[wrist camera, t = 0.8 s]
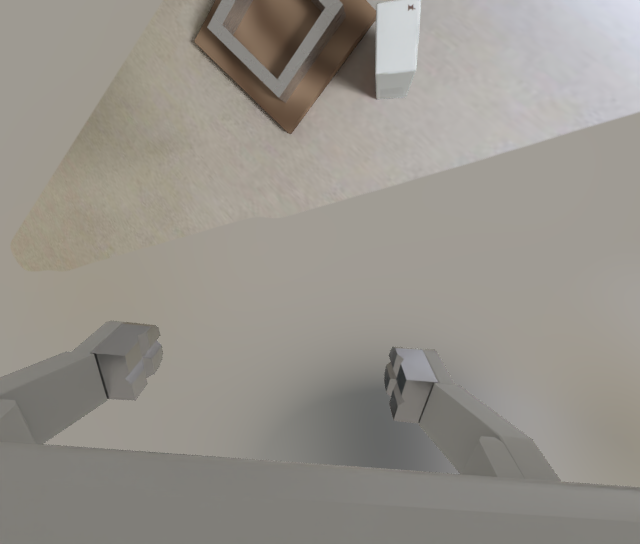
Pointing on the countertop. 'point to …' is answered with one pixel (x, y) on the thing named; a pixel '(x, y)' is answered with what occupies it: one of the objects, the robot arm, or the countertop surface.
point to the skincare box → (396, 47)
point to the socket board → (284, 48)
